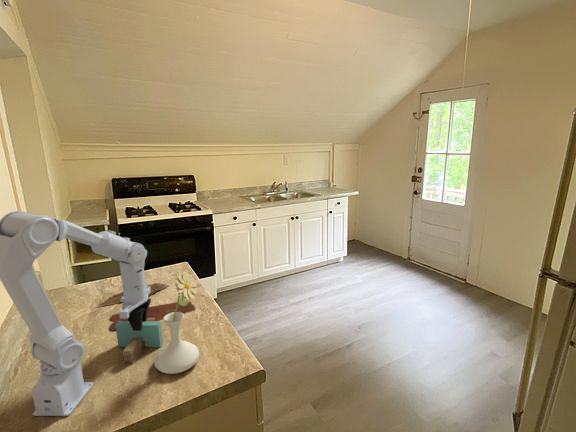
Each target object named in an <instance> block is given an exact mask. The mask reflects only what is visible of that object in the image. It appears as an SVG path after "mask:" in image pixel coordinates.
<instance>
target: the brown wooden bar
mask: <svg viewBox="0 0 576 432" xmlns="http://www.w3.org/2000/svg"><path fill="white" fill-rule="evenodd" d="M146 321H155V318H148V319H147V320H146ZM145 346H146V341H141V337H133V339H132V340H131V341H130V343H129V344H128V345H127V347H124V349H123V350H122V355H123V362H124V365H133V364H134V363H135V361H136V360H137V358H138V357H139V355H140V353H141V352H142V351H143V349H144V348H145Z"/></svg>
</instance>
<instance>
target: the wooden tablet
mask: <svg viewBox="0 0 576 432" xmlns="http://www.w3.org/2000/svg"><path fill="white" fill-rule="evenodd" d="M176 305H177V301H175V302H174V301H173V302H170V303H163V304H157V305H152V306H149V308H148V311H147V317H146V320H147V319H148V318H155V321H161V320H163V318H164V317H165V316H166V315H167V314H169V313H172V312H175V311H168V312H167V309H169V310H172V309H176ZM177 309H178V310H177V311H176V312H181V313H183V314H184V315H185V314H188V313H191V312H193V311H195V310H196V306H195V305H194V304H193V303H192V301H191V300H190V301H189V302H188V304H187V305H186V306H182V305H180V304H179V303H178V307H177ZM110 321H111V322H112V323H111V324H110V326H109V329H108V330H109V331H111V332H114V331H116V324H117V323H118V322H119V321H128V319H127V318H120V314H119V312H118V313H115V314H112V315H111V316H110Z"/></svg>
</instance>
